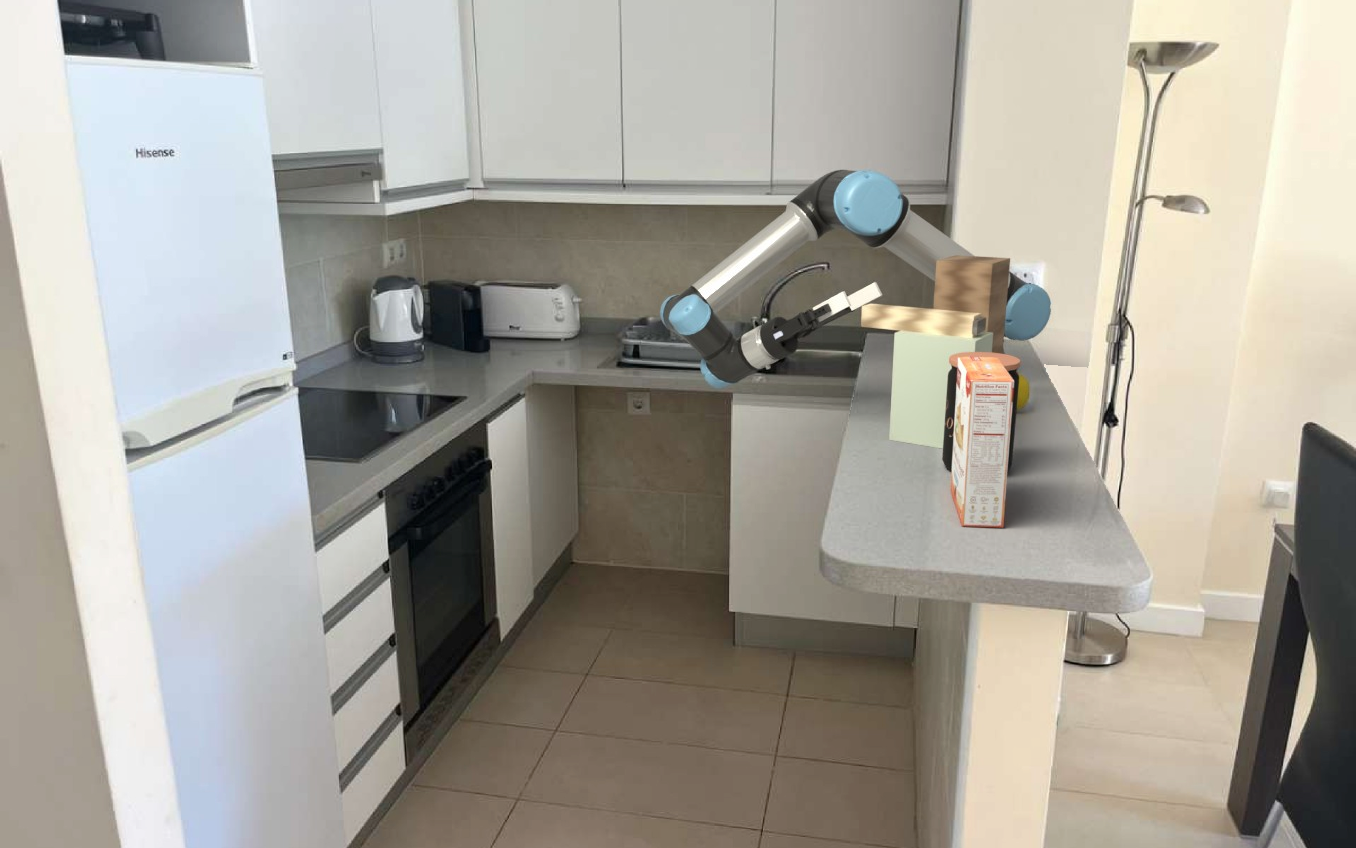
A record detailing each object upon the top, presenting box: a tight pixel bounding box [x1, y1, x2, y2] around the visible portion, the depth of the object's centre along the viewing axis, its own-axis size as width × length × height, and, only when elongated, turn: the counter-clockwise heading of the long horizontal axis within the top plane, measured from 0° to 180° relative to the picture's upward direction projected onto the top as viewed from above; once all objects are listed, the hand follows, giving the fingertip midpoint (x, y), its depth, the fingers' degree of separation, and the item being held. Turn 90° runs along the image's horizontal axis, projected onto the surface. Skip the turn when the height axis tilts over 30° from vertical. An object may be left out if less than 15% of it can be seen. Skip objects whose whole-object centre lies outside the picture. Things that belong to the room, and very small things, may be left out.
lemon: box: [1017, 371, 1031, 411], centre depth 191 cm, size 6×6×8 cm
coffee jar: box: [941, 352, 1021, 473], centre depth 157 cm, size 11×11×18 cm
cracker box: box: [950, 357, 1014, 529], centre depth 139 cm, size 14×6×21 cm, turn 171°
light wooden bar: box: [860, 303, 986, 338], centre depth 172 cm, size 21×4×4 cm, turn 55°
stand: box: [933, 255, 1011, 354], centre depth 183 cm, size 12×12×30 cm
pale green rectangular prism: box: [888, 330, 993, 450], centre depth 173 cm, size 14×9×19 cm, turn 55°
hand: (863, 293), depth 177 cm, fingers open, 13 cm apart
